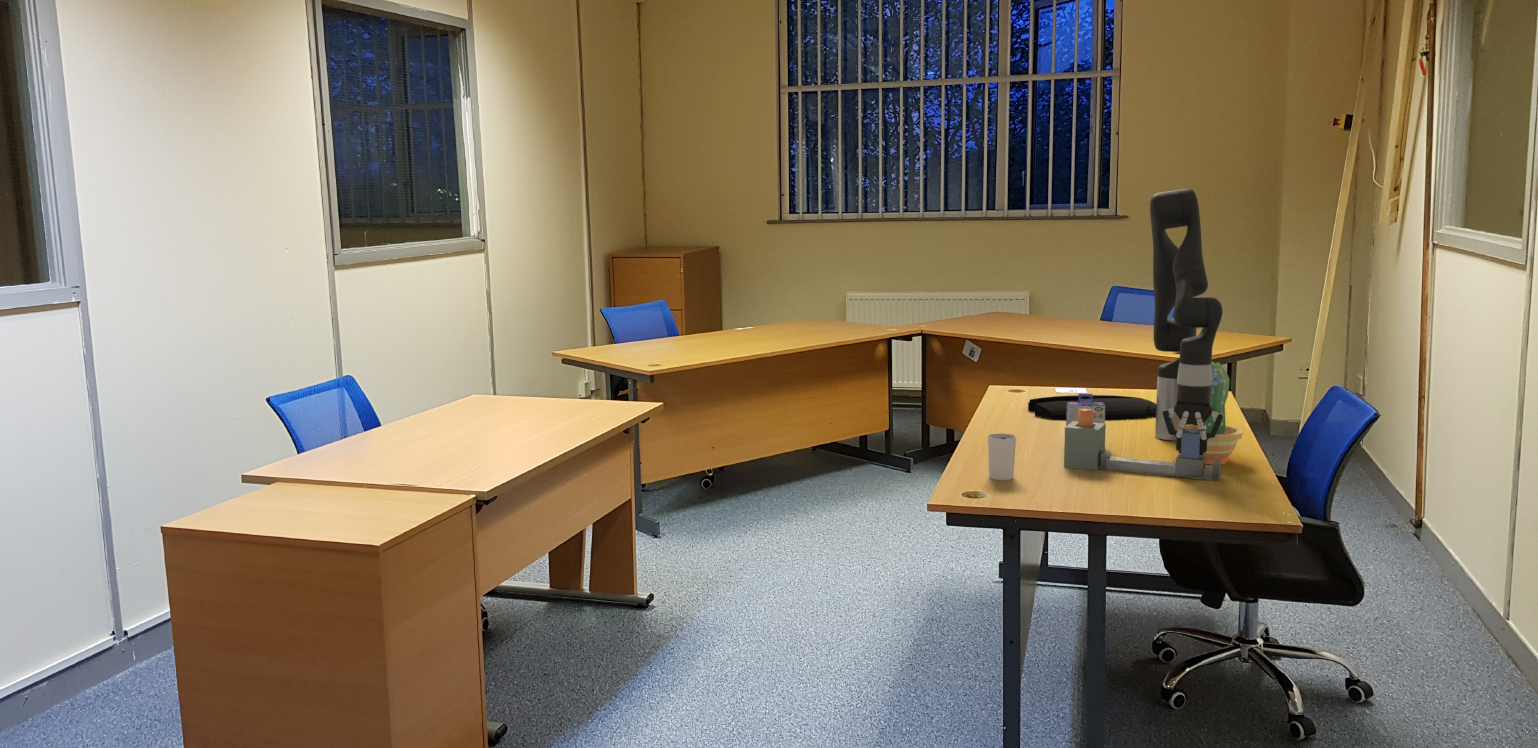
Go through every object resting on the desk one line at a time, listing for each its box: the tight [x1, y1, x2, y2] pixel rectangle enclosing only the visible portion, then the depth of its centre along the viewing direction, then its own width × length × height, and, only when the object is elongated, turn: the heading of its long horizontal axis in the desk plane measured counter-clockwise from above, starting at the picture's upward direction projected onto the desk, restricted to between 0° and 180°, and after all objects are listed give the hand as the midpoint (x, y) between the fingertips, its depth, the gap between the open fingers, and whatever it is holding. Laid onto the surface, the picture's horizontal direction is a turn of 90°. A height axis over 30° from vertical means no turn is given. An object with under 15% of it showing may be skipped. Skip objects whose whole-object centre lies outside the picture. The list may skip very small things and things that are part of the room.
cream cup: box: [987, 432, 1017, 481], centre depth 253 cm, size 7×7×10 cm
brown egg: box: [1078, 409, 1094, 428], centre depth 263 cm, size 4×4×6 cm
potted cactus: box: [1185, 361, 1244, 465], centre depth 266 cm, size 15×15×25 cm
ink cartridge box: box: [1065, 393, 1106, 427], centre depth 282 cm, size 10×6×14 cm, turn 78°
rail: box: [1099, 449, 1222, 482], centre depth 255 cm, size 4×27×4 cm, turn 61°
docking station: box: [1027, 394, 1156, 421], centre depth 332 cm, size 25×40×5 cm, turn 89°
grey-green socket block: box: [1063, 421, 1107, 471], centre depth 264 cm, size 9×8×10 cm
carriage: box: [1175, 429, 1207, 477], centre depth 251 cm, size 7×6×10 cm
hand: (1191, 453), depth 251 cm, fingers closed on carriage, 4 cm apart
